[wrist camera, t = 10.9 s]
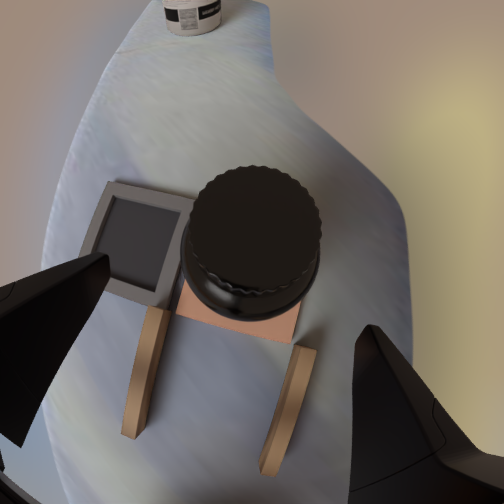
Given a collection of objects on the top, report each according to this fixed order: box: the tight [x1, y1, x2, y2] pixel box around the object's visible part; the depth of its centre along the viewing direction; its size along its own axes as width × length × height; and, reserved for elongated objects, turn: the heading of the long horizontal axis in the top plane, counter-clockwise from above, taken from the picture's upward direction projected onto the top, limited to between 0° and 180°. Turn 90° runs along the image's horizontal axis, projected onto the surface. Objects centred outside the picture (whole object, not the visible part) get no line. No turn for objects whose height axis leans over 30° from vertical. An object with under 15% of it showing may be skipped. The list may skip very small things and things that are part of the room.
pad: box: [176, 279, 301, 344], centre depth 22 cm, size 9×9×1 cm
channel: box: [121, 305, 317, 477], centre depth 18 cm, size 11×12×2 cm
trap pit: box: [78, 181, 195, 310], centre depth 22 cm, size 9×9×1 cm
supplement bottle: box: [180, 165, 322, 322], centre depth 15 cm, size 7×7×12 cm
